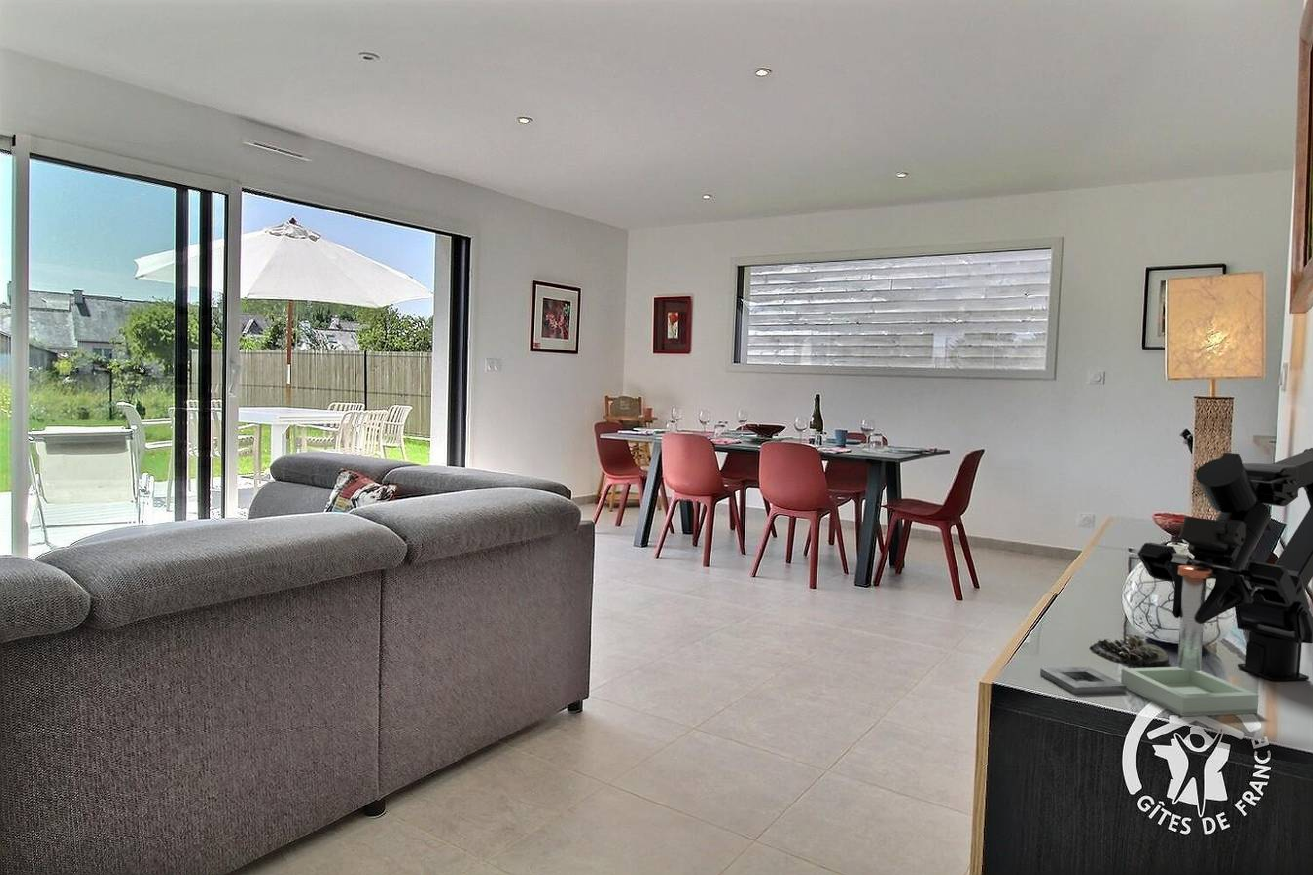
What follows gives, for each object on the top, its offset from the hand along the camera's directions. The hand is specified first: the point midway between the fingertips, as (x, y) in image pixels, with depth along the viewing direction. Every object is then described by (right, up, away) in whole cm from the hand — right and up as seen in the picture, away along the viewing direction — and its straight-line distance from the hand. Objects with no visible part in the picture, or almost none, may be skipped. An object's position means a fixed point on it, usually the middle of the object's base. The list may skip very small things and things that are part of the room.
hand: (1186, 618), depth 115 cm
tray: (+1, -11, +1) cm, 12 cm away
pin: (+1, -7, +1) cm, 7 cm away
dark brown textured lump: (+4, -11, +20) cm, 23 cm away
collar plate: (-11, -11, +6) cm, 17 cm away
